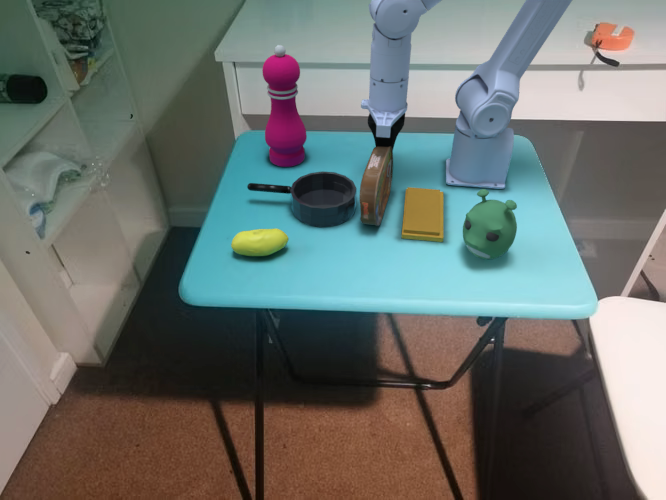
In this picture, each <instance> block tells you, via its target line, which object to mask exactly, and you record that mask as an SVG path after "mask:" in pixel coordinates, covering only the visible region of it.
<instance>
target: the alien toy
mask: <svg viewBox="0 0 666 500" xmlns="http://www.w3.org/2000/svg"><path fill="white" fill-rule="evenodd" d="M489 194H490V191H489V190H488V189H486V188H481V189H479V190H478V191H477V192H476V195H477V196H478V197H480V198H481V201H480V202H478V203H476V204H475V205H473V207H472V208H471V209H470V210H469V211H468V212H466V214H465V219H464V222H463V225H462V238H463V242H464V245H465V247H466V248H467V250H468V251H469V252H470V254H472V255H474V257H477V258H479V259H482V260H493V259H497V258H499V257H502V256H503V255H505V254H506V253H507V252H508V251H509V250H510V248H511V247H512V245H513V244H514V242H515V239H516V235H517V231H518V224H517V223H518V222H517V218H516V216H515V212H514V211H515V210H516V209H518V205H517V202H515V201H514V200H512V199H507V200H506V201H505V202H503V201H501V200H498V199H486V197H487V196H488V195H489Z"/></svg>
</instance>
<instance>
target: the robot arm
mask: <svg viewBox="0 0 666 500" xmlns="http://www.w3.org/2000/svg"><path fill="white" fill-rule="evenodd" d="M442 1H443V0H370V3H368V12H369V15H370V17H371V18H372V20H373V22H374V23H372V32H371V38H372V40H371V43H370V63H369V64H370V65H369V85H368V86H369V88H368V89H369V90H368V92H369V93H368V98H367V99H366V98H364V99H362V100H361V102H360V108H361V109H363V110H367V111H368V113H369V114H368V117H367V126H368V128H369V130H370V131H371V133H372V136H373V139H374V140H373V141H374V145H375V146H374V147H390V146H391V147H392V150H393V151H394V147H395V145H396V144H395V143H396V140H397V138H398V136H399V134H400V133H401V131H402V129H403V128H404V126H405V121H406V120H405V119H406V112H407V111H408V92H409V91H408V89H409V80H410V79H409V78H410V76H409V75H410V68H411V67H410V65H411V64H410V63H411V54H412V33H413V32H414V31H415V30H416V28H417V27H418V25H419V22H420V19H421V16H422V15H425V14H427V12H429V11H430V10H432V9H433V8H434V7H436V6H437V5H438V4H439V3H441V2H442ZM572 1H573V0H525V1H524V3H522V5H521V8H520V9H519V11H518V12H517V14H516V16H515V17H514V19H513V21H512V22H511V24H510V25H509V27H508V29H507V30H506V32H505V34H504V35H503V37H502V38H501V40H500V42H499V43H498V45H497V47H496V48H495V50H494V51H493V53H492V55H491V56H490V58H489V59H488V60H487V61H485V62H483V63H480V64H479V65H477V66H476V68H475V69H474V71H473V73H471V75H469V76H468V77H467V78H466V79H464V80H463V81H462V82H461V83H460V84H459V85H458V87H457V88H456V90H455V95H454V102H455V105H456V106H457V108H458V109H459V115H458V116H457V118H456V121H455V125H454V132H453V138H452V139H453V140H452V145H451V153H450V158H446V159H445V183H446V185H448V186H457V187H470V188H481V189H495V190H496V189H497V190H504V189H505V188H506V181H507V177H508V172H509V168H510V164H511V160H512V155H513V150H514V143H515V131H514V129H513V128H512V127H508V126H509V124H510V123H511V119H512V116H513V110H514V107H515V106H516V104H517V103H518V102H519V100H520V86H521V85H520V84H521V79H522V78H523V75H524V74H525V72H526V71H527V70H528V68H529V67H530V65H531V64H532V62H533V61H534V59H535V57H536V56H537V55H538V53H539V51H540V50H541V49H542V47H543V46H544V44H545V42H546V41H547V39H548V38H549V36H550V35H551V33H552V32H553V31H554V29H555V28H556V26H557V24H558V23H559V22H560V20H561V19H562V17H563V15H564V14H565V12H566V11H567V9H568V8H569V6H570V5H571V4H572Z"/></svg>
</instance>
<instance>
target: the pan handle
mask: <svg viewBox="0 0 666 500" xmlns="http://www.w3.org/2000/svg"><path fill="white" fill-rule="evenodd" d="M246 187H247V190H248V191H250V192H261V193H262V192H263V193H264V192H265V193H273V194H287V195H289V194H290V189H291V187H292V186H290V185H282V184H268V183H259V182H258V183H256V182H249V183H248V184H247V186H246ZM290 195H291V194H290Z"/></svg>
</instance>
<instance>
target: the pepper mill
mask: <svg viewBox="0 0 666 500" xmlns="http://www.w3.org/2000/svg"><path fill="white" fill-rule="evenodd" d="M286 52H287V51H286V48H285V46H283V45H282V44H277V45H276V46H275V47H274V49H273V53H274V54H272V55H270V56H269V57H267V58H266V59H265V61H264V62H263V65H262V69H261V70H262V78H263V80H264V82H266V84H267V85H266V89H267V93H266V94H267V96H268V97H269V98H270V114H269V118H268V120H267V123H266V126H265V130H264V141H265V143H266V145H267V146H268V147H269V150H268V154H269V160H270V163H272V164H273V165H275V166H278V167H283V168H290V167H296V166H298V165H300V164H301V163H303V162H304V160H305V157H306V156H305V152H306V151H305V147H304V145H305V143H306V141H307V138H308V136H307V129H306V126H305V124H304V122H303V120H302V118H301V116H300V113H299V110H298V107H297V101H296V99H297V98H296V97H297V96H298V94H299V89H298V88H299V86H298V84H297V83H298V81H299V79H300V78H301V77H300V76H301V69H300V65H299V62H298V61H297V60H296V59H295V58H294V57H293V56H292V55H290V54H287V53H286Z"/></svg>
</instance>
